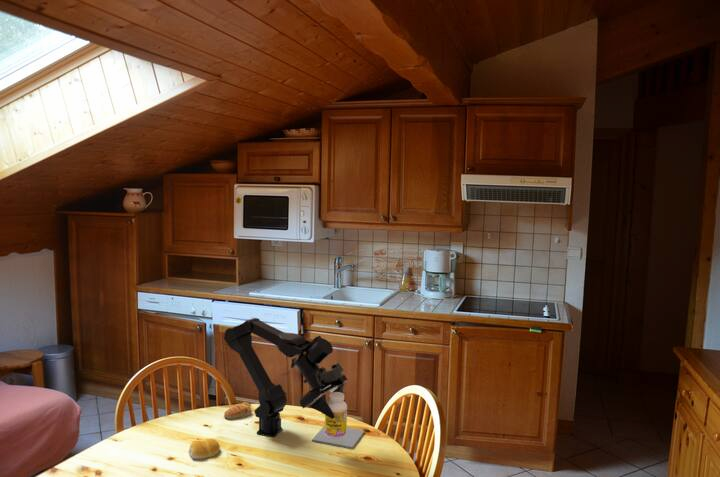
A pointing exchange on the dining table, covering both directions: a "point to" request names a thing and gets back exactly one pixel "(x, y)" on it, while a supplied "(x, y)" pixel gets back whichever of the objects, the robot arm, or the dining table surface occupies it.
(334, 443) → the rubber mat
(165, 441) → the dining table surface
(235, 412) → the pastry
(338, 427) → the supplement bottle
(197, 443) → the bread roll
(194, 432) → the dining table surface
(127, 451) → the dining table surface
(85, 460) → the dining table surface
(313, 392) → the robot arm
